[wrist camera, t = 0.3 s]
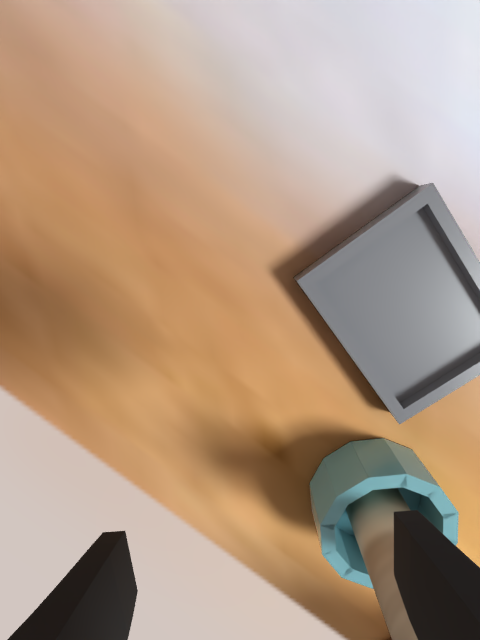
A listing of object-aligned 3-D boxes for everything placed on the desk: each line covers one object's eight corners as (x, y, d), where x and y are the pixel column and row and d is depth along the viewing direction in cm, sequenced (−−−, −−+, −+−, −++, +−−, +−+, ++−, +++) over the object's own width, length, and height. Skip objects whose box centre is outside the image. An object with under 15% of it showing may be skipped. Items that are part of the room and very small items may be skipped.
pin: (407, 500, 21) (506, 667, 13) (361, 527, 21) (429, 703, 13) (378, 461, 20) (463, 612, 12) (331, 490, 21) (385, 652, 13)
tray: (510, 337, 19) (528, 344, 18) (390, 412, 20) (399, 424, 19) (420, 185, 17) (432, 182, 16) (293, 277, 18) (296, 280, 17)
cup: (449, 502, 21) (482, 545, 18) (351, 557, 22) (367, 607, 19) (389, 417, 20) (413, 450, 17) (287, 480, 21) (294, 522, 18)
